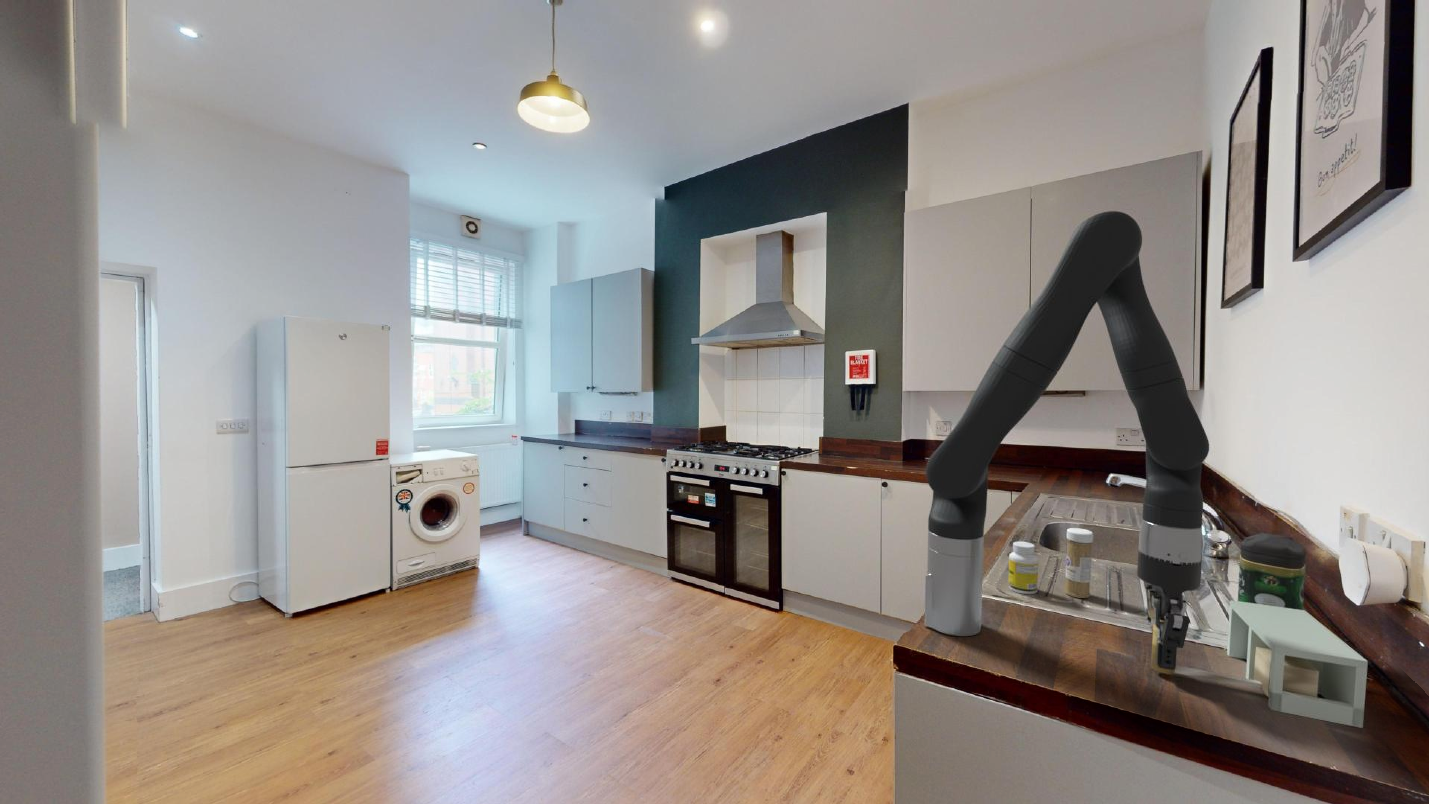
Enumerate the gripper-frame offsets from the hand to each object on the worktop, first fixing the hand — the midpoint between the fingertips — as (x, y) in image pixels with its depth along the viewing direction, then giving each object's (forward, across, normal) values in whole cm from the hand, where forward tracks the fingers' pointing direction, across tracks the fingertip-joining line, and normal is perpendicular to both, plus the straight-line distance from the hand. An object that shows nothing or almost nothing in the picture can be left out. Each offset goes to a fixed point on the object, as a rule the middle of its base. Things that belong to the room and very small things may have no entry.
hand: (1162, 662), depth 88 cm
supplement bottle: (+2, -28, -18) cm, 33 cm away
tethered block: (+1, 0, +8) cm, 8 cm away
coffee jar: (+2, -19, +18) cm, 26 cm away
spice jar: (+2, -30, -8) cm, 31 cm away
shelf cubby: (+2, -4, +16) cm, 16 cm away
